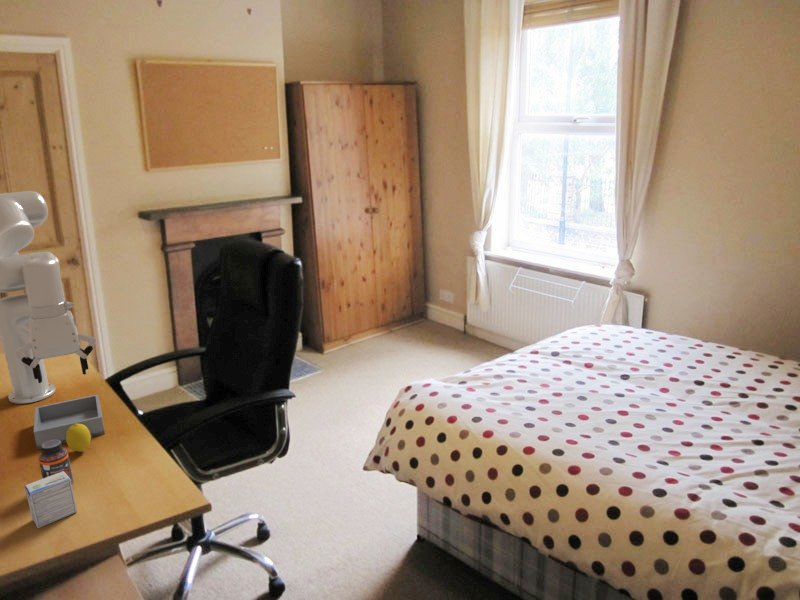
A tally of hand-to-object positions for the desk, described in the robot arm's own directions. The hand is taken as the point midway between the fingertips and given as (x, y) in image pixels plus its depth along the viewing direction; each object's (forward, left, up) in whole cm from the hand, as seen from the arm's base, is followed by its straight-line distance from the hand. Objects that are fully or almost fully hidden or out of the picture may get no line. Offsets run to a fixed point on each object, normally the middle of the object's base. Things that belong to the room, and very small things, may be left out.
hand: (62, 376), depth 156 cm
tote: (-15, -1, -21) cm, 26 cm away
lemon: (0, +1, -21) cm, 21 cm away
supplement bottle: (+15, -4, -21) cm, 26 cm away
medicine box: (+27, -5, -21) cm, 35 cm away
